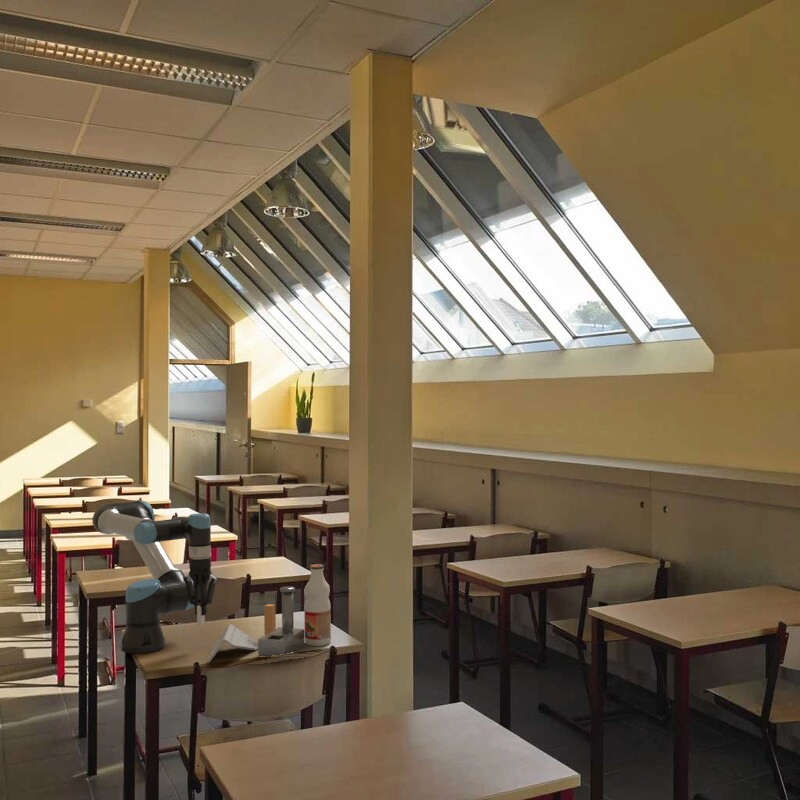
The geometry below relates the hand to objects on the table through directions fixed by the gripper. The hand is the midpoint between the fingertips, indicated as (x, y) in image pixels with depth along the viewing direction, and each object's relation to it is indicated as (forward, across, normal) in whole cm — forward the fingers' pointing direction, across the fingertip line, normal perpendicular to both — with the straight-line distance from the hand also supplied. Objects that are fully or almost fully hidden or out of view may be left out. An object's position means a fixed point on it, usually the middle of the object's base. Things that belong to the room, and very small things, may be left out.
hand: (201, 624), depth 293 cm
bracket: (+9, +14, -3) cm, 17 cm away
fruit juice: (+9, +37, +17) cm, 42 cm away
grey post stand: (+9, +29, +4) cm, 31 cm away
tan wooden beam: (+9, +19, +15) cm, 26 cm away
